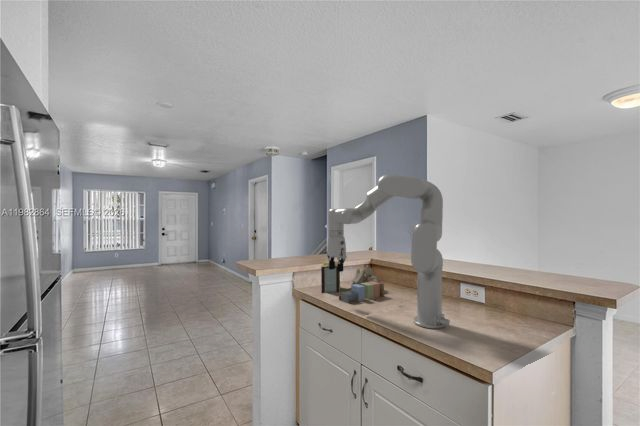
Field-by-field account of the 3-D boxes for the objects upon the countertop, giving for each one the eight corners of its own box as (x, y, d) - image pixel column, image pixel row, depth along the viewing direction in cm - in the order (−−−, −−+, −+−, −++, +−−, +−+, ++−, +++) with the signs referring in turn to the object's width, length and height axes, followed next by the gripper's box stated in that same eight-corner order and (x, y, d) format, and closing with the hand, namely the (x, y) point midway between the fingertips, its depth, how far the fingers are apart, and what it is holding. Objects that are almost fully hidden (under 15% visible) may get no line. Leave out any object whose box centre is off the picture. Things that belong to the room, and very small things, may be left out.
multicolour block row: (383, 298, 163) (383, 283, 163) (350, 306, 150) (349, 289, 150) (372, 294, 171) (372, 280, 171) (338, 301, 158) (338, 286, 158)
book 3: (380, 296, 164) (379, 283, 164) (374, 297, 161) (374, 284, 161) (372, 294, 169) (372, 281, 169) (366, 295, 166) (366, 282, 166)
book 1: (364, 299, 158) (364, 286, 158) (358, 301, 155) (358, 287, 155) (357, 297, 163) (357, 284, 162) (351, 298, 160) (351, 285, 160)
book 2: (373, 297, 161) (373, 284, 161) (368, 299, 159) (368, 285, 159) (366, 295, 166) (366, 282, 166) (360, 296, 164) (360, 283, 164)
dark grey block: (357, 301, 155) (357, 293, 155) (348, 303, 152) (348, 295, 152) (350, 298, 160) (350, 290, 160) (340, 300, 157) (340, 292, 157)
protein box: (340, 287, 189) (340, 262, 189) (339, 293, 173) (339, 266, 173) (323, 286, 190) (323, 261, 190) (321, 293, 174) (320, 266, 174)
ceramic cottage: (348, 288, 184) (349, 264, 183) (373, 288, 188) (375, 263, 187) (357, 297, 169) (358, 270, 168) (384, 296, 173) (386, 270, 172)
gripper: (353, 234, 146) (353, 272, 146) (331, 232, 160) (332, 267, 161) (340, 235, 142) (340, 274, 142) (320, 233, 156) (320, 268, 156)
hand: (336, 270), depth 151 cm, fingers open, 6 cm apart
